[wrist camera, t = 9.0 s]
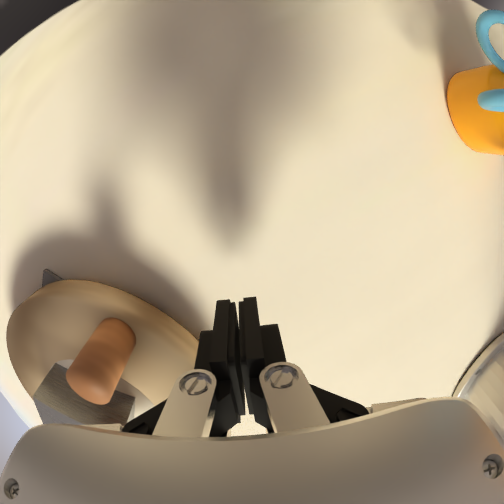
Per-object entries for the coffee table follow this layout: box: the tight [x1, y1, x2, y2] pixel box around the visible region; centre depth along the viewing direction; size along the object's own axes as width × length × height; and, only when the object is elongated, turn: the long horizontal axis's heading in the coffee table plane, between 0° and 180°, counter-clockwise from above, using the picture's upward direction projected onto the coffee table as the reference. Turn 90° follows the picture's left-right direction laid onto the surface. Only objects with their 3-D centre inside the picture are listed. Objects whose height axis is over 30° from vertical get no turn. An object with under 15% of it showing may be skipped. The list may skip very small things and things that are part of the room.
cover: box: [32, 363, 136, 426], centre depth 13 cm, size 6×6×4 cm
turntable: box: [6, 279, 199, 418], centre depth 14 cm, size 18×18×6 cm
